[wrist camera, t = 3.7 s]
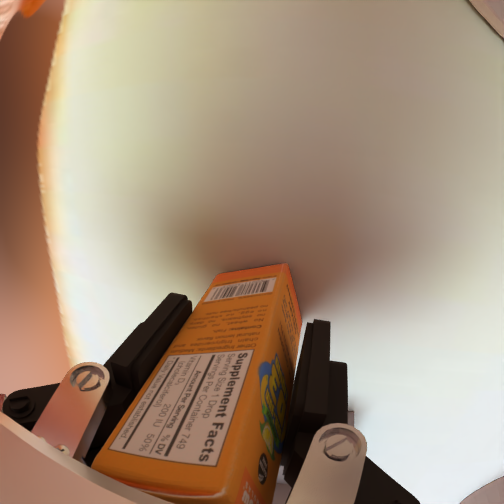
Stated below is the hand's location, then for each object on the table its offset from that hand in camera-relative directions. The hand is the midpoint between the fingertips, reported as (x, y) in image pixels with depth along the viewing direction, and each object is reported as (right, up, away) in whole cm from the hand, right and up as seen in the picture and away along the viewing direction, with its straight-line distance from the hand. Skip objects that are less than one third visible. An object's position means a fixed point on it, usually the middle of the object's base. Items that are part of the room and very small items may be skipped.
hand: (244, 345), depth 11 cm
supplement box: (+1, +1, +3) cm, 3 cm away
